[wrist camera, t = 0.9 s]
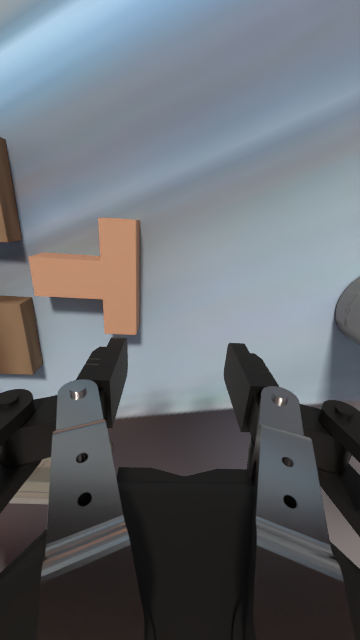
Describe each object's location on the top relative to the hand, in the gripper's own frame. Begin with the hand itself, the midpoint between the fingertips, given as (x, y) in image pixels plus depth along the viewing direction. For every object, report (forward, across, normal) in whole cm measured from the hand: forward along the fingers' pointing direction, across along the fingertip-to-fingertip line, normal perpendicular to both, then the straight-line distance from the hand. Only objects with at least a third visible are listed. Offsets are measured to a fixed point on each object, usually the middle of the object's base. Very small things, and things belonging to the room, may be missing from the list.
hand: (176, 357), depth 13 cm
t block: (+18, +9, 0) cm, 20 cm away
